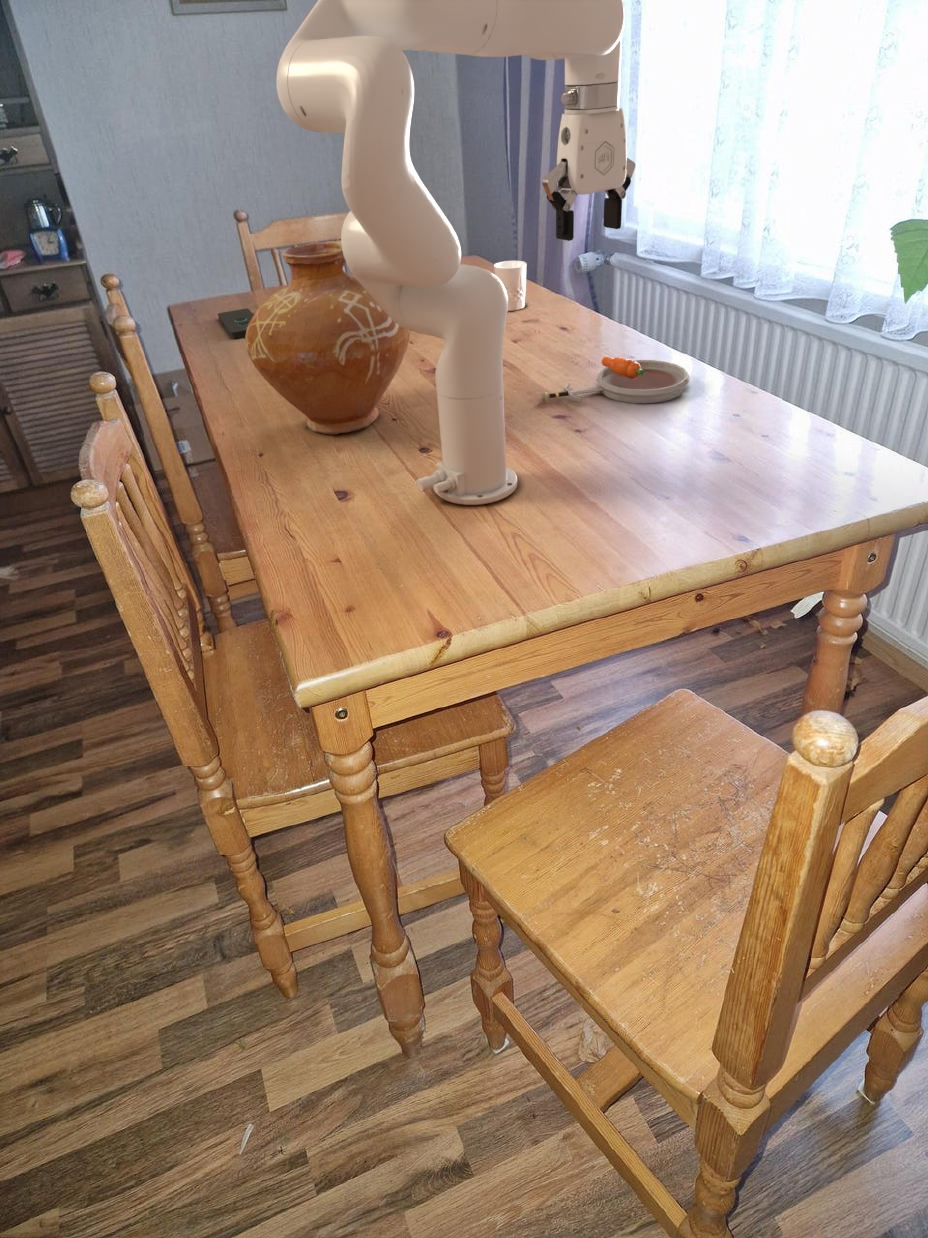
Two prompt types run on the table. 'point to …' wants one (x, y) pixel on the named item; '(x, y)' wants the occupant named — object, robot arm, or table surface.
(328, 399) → the jug
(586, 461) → the table surface
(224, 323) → the smart home device
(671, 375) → the frying pan
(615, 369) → the carrot
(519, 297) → the white cup
